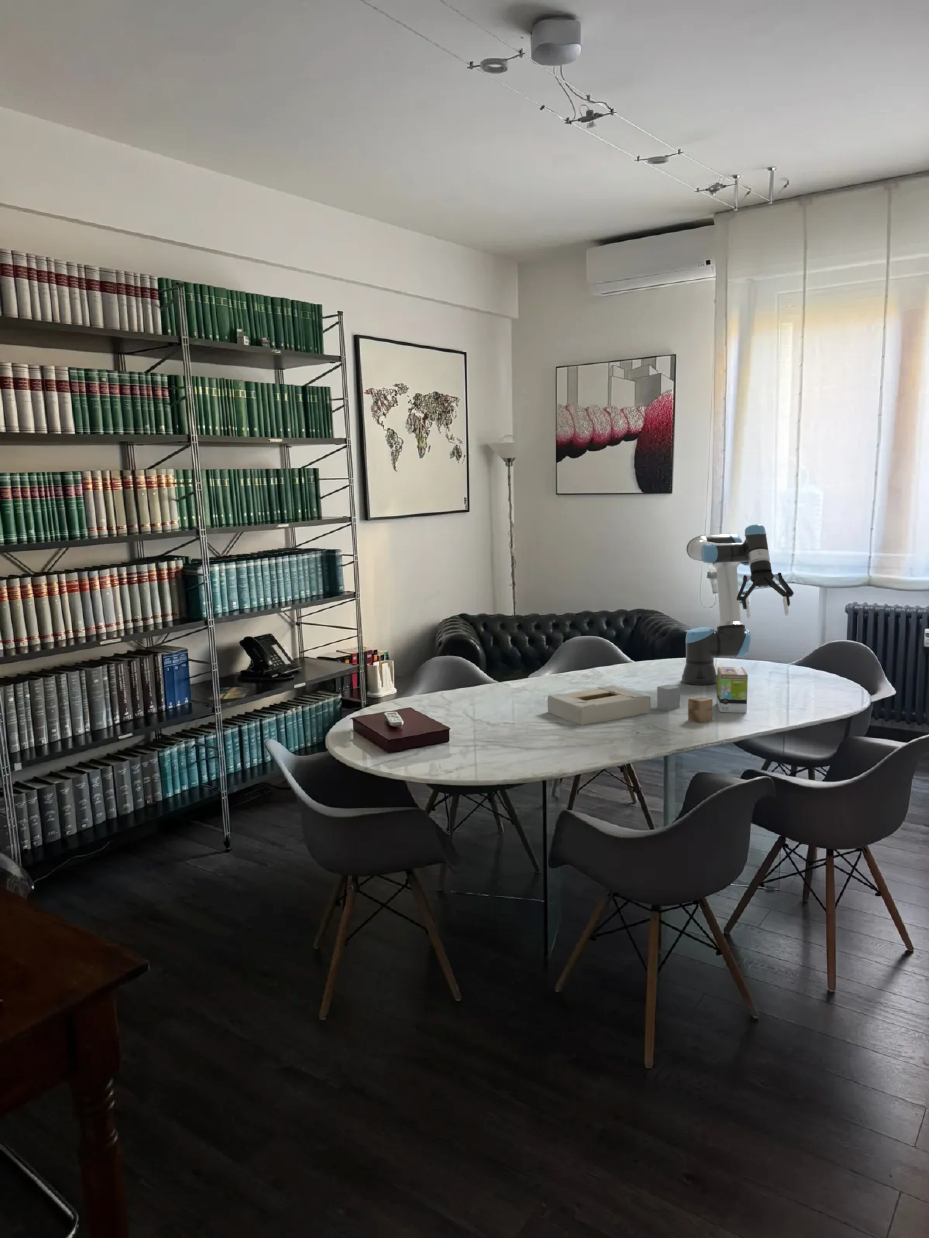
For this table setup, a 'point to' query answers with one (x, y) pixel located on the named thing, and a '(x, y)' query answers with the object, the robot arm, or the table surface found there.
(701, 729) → the table surface
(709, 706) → the walnut block
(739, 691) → the tea box
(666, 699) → the slate block
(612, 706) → the box
